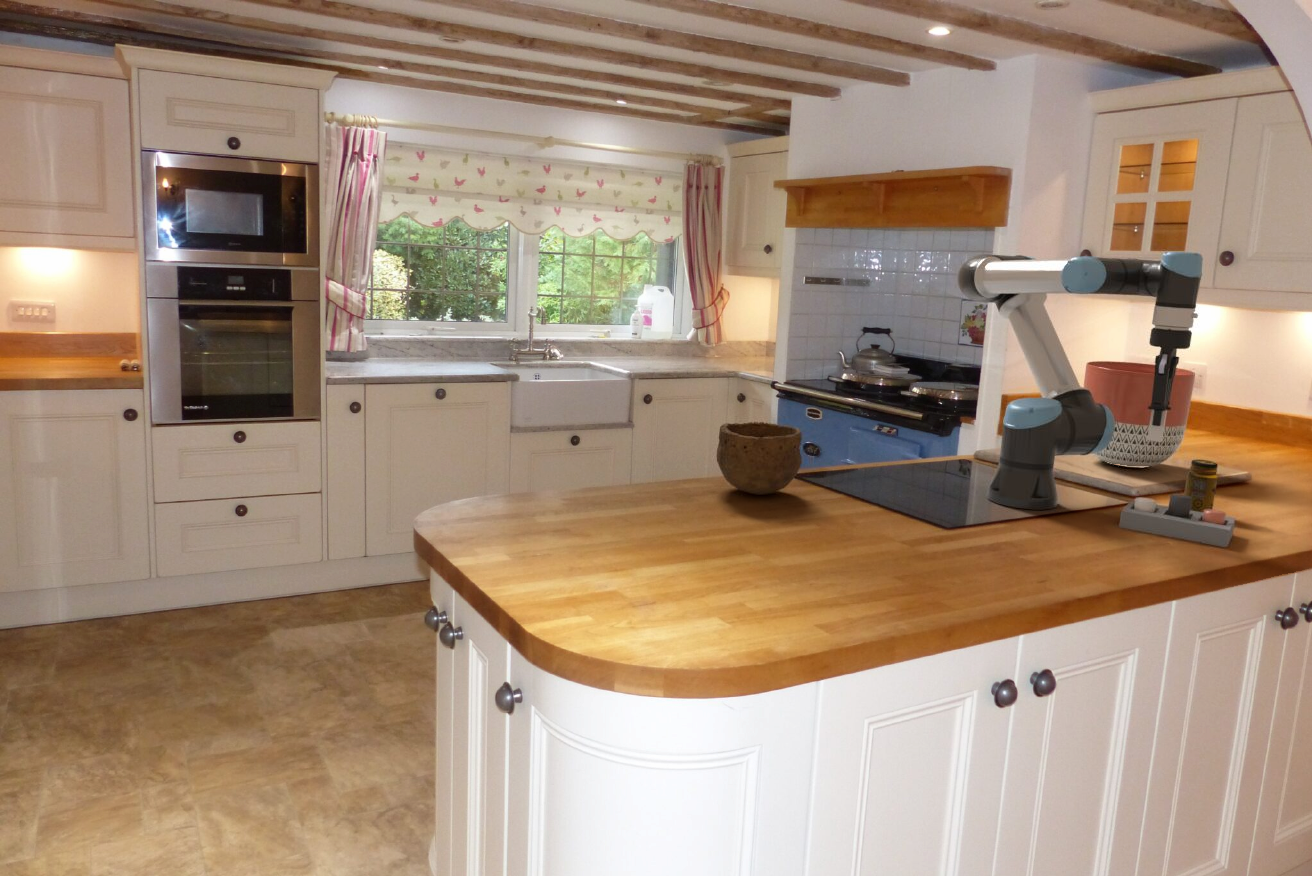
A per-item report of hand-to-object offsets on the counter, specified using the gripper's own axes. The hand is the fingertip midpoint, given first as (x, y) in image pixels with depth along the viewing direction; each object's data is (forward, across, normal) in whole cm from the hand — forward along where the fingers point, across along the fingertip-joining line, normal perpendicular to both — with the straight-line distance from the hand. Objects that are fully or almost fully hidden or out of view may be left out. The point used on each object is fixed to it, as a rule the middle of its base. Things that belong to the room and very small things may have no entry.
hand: (1154, 440), depth 211 cm
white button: (+17, 0, 0) cm, 17 cm away
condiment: (+19, +20, -8) cm, 28 cm away
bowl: (+19, -37, +73) cm, 84 cm away
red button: (+17, 0, -13) cm, 21 cm away
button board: (+18, 0, -7) cm, 20 cm away
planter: (+19, +65, +15) cm, 69 cm away
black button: (+15, 0, -7) cm, 16 cm away
